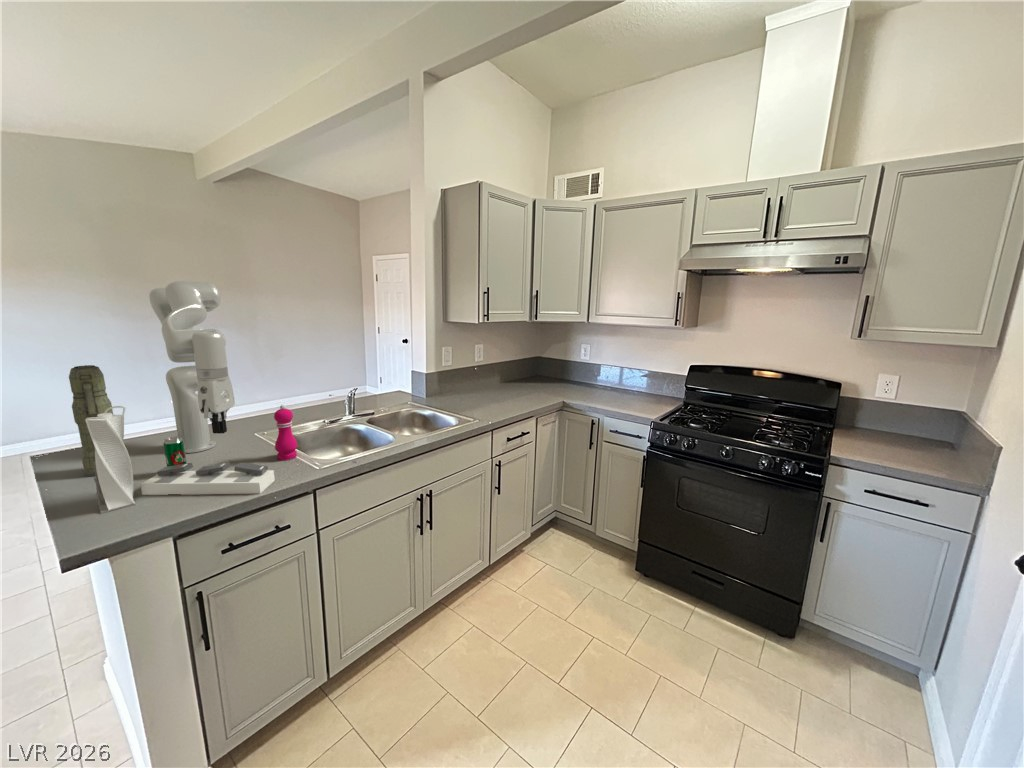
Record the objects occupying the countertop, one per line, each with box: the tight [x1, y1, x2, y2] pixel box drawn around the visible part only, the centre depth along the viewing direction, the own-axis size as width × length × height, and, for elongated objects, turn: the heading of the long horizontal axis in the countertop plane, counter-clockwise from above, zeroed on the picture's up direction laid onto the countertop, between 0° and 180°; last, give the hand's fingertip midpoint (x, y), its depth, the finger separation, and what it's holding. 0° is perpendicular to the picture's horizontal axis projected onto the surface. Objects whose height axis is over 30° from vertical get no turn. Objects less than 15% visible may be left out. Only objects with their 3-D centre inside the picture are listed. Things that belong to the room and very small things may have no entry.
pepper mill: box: [273, 404, 298, 461], centre depth 148 cm, size 7×7×20 cm
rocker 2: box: [233, 462, 269, 475], centre depth 127 cm, size 8×4×2 cm, turn 95°
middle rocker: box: [194, 462, 231, 476], centre depth 126 cm, size 8×4×2 cm, turn 95°
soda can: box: [162, 435, 187, 467], centre depth 133 cm, size 5×5×12 cm
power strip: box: [140, 469, 276, 496], centre depth 125 cm, size 33×9×4 cm, turn 95°
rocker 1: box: [156, 462, 194, 476], centre depth 125 cm, size 8×4×2 cm, turn 95°
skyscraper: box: [85, 405, 136, 515], centre depth 111 cm, size 8×8×28 cm
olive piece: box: [68, 364, 114, 477], centre depth 130 cm, size 9×12×35 cm
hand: (220, 432), depth 124 cm, fingers closed
